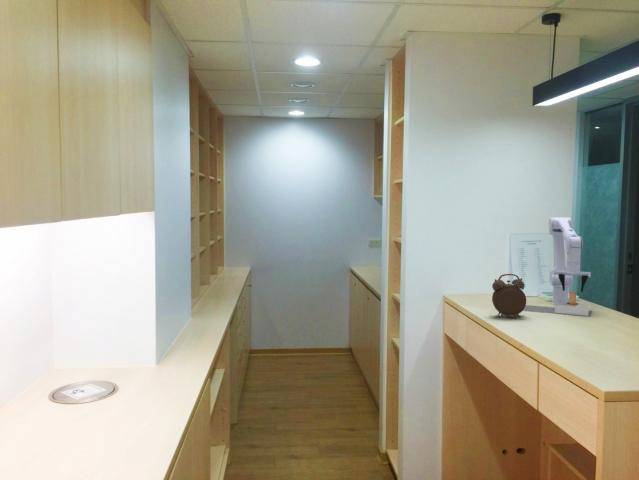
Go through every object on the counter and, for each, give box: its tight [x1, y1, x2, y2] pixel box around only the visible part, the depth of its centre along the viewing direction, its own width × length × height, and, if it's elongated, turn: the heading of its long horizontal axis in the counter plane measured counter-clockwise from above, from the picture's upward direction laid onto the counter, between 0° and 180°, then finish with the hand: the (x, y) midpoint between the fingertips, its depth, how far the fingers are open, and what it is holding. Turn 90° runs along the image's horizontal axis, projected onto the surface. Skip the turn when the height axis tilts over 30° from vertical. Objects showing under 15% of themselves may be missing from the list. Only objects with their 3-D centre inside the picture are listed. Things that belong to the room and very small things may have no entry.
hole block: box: [554, 300, 591, 317], centre depth 248 cm, size 12×14×4 cm
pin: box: [568, 290, 577, 305], centre depth 248 cm, size 3×3×10 cm
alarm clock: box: [491, 273, 527, 318], centre depth 242 cm, size 15×7×20 cm, turn 84°
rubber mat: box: [522, 304, 593, 318], centre depth 252 cm, size 14×30×1 cm, turn 60°
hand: (572, 291), depth 248 cm, fingers open, 7 cm apart
